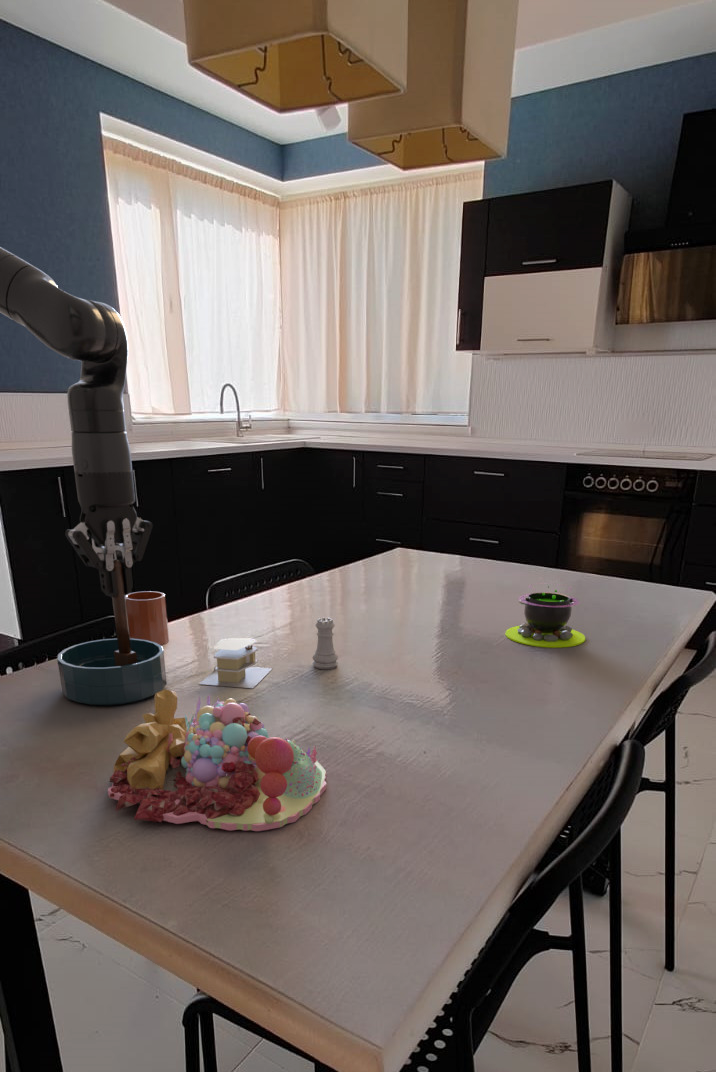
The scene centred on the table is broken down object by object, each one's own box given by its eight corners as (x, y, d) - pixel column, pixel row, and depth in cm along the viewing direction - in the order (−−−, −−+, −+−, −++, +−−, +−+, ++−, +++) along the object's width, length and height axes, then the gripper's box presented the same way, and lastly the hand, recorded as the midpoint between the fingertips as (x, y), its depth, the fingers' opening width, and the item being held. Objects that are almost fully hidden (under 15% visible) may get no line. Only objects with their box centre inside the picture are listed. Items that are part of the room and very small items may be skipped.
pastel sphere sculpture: (77, 828, 80) (65, 747, 76) (146, 737, 101) (138, 670, 98) (317, 836, 79) (316, 754, 75) (335, 742, 100) (334, 675, 97)
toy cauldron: (575, 626, 154) (582, 571, 150) (594, 648, 140) (602, 588, 136) (500, 625, 155) (504, 570, 150) (511, 646, 141) (517, 587, 136)
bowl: (42, 693, 116) (36, 655, 114) (124, 668, 128) (120, 633, 125) (105, 716, 108) (100, 675, 106) (187, 687, 119) (184, 650, 117)
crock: (121, 645, 139) (115, 596, 136) (152, 636, 145) (147, 589, 141) (146, 652, 136) (141, 602, 132) (177, 643, 141) (173, 594, 137)
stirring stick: (117, 679, 116) (102, 559, 109) (126, 676, 117) (112, 557, 110) (129, 683, 115) (115, 561, 107) (139, 680, 116) (126, 559, 109)
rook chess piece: (338, 670, 128) (338, 623, 125) (311, 670, 128) (310, 623, 124) (338, 661, 132) (338, 616, 129) (312, 661, 132) (311, 616, 129)
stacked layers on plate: (253, 688, 119) (251, 654, 117) (198, 684, 121) (196, 650, 119) (272, 668, 128) (271, 636, 126) (221, 664, 130) (219, 633, 128)
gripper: (127, 463, 111) (139, 583, 118) (41, 469, 101) (60, 599, 108) (161, 466, 107) (172, 590, 114) (76, 472, 97) (93, 607, 104)
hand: (117, 594), depth 111 cm, fingers closed on stirring stick, 2 cm apart
